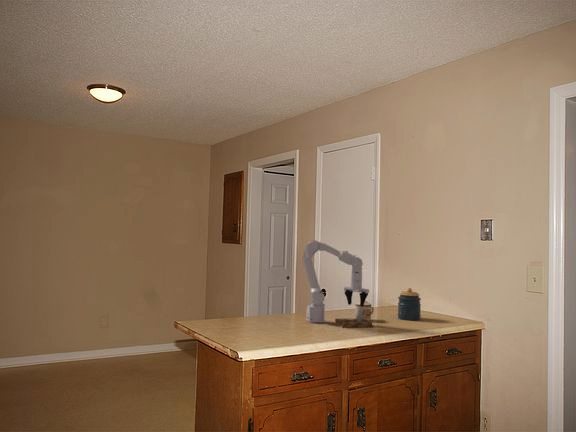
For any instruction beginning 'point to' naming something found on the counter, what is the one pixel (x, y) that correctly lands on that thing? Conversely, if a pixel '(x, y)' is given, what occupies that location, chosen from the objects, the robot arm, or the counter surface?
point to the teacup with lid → (364, 310)
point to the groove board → (352, 323)
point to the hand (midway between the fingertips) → (355, 305)
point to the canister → (409, 305)
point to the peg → (358, 315)
